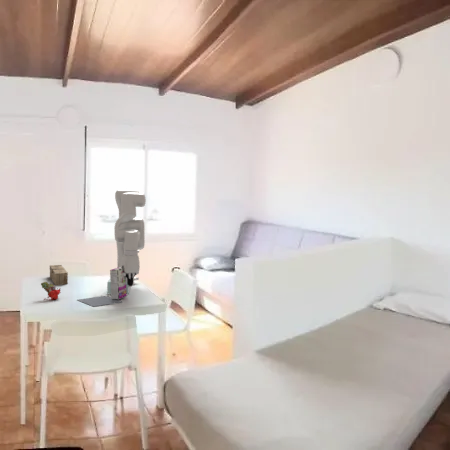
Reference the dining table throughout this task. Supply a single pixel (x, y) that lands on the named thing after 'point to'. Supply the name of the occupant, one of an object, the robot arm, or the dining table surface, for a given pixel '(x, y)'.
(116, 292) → the candy bar box
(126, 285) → the right angle wall
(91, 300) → the mat
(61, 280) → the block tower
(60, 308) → the dining table surface
